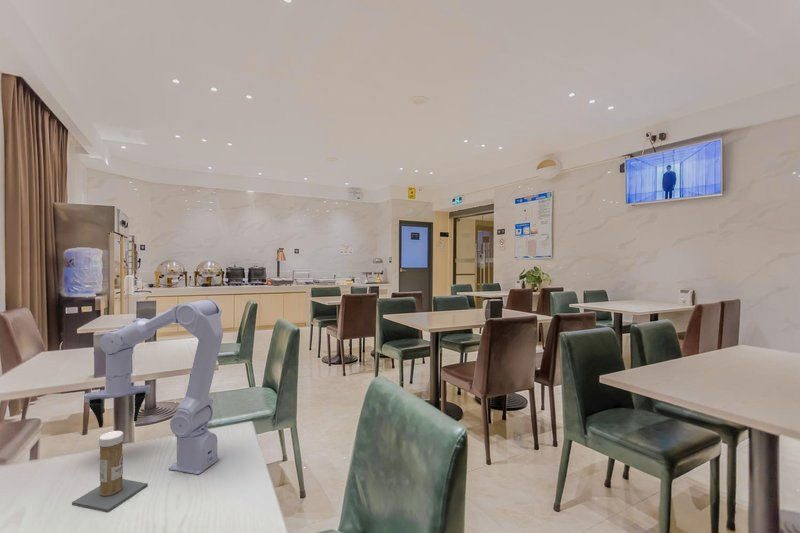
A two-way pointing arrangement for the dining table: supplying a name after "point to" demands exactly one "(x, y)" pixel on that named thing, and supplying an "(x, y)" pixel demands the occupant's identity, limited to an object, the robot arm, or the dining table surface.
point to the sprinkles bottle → (111, 463)
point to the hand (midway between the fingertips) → (118, 423)
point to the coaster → (111, 501)
